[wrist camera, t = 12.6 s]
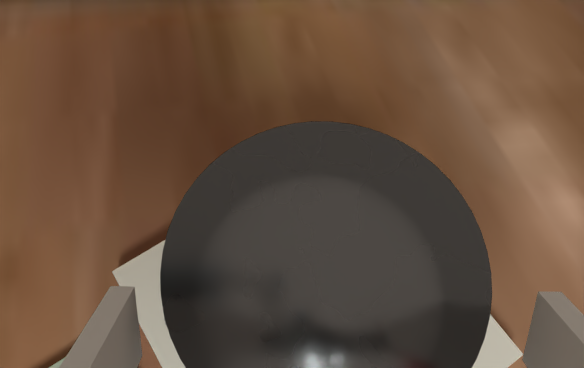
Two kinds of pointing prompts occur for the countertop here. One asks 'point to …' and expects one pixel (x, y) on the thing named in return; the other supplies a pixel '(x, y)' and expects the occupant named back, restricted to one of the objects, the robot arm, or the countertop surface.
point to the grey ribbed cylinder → (325, 257)
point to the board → (146, 281)
